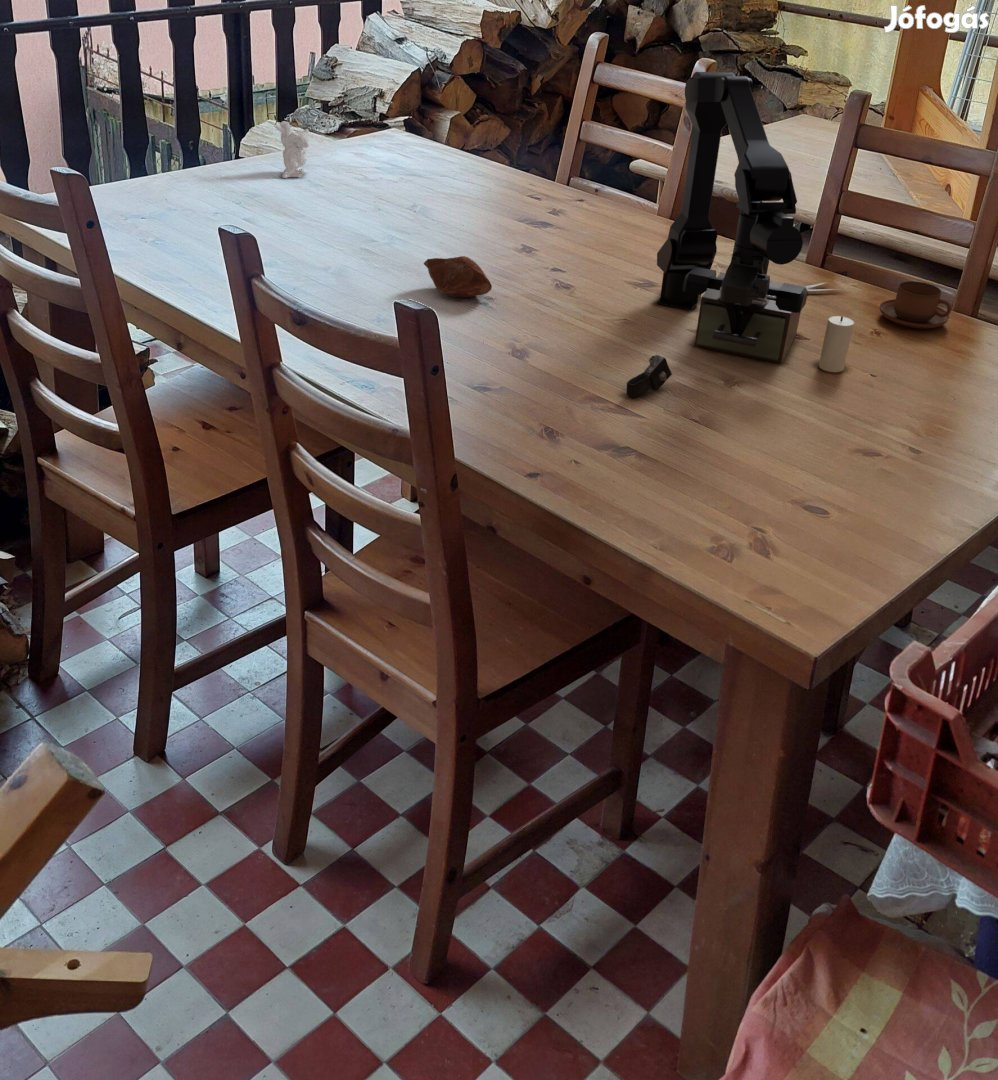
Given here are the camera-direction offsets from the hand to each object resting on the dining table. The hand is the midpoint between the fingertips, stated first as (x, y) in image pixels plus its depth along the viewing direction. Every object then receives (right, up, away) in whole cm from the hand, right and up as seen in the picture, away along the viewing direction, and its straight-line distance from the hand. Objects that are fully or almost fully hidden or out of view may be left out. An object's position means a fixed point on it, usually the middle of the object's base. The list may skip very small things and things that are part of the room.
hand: (735, 341), depth 190 cm
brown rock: (-45, +12, +21) cm, 51 cm away
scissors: (+17, +14, +31) cm, 38 cm away
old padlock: (-15, -10, -9) cm, 20 cm away
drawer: (+2, +1, +6) cm, 7 cm away
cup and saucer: (+36, +7, +22) cm, 43 cm away
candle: (+16, -4, +2) cm, 17 cm away
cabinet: (+4, +2, +10) cm, 11 cm away
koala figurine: (-85, +51, +81) cm, 128 cm away
